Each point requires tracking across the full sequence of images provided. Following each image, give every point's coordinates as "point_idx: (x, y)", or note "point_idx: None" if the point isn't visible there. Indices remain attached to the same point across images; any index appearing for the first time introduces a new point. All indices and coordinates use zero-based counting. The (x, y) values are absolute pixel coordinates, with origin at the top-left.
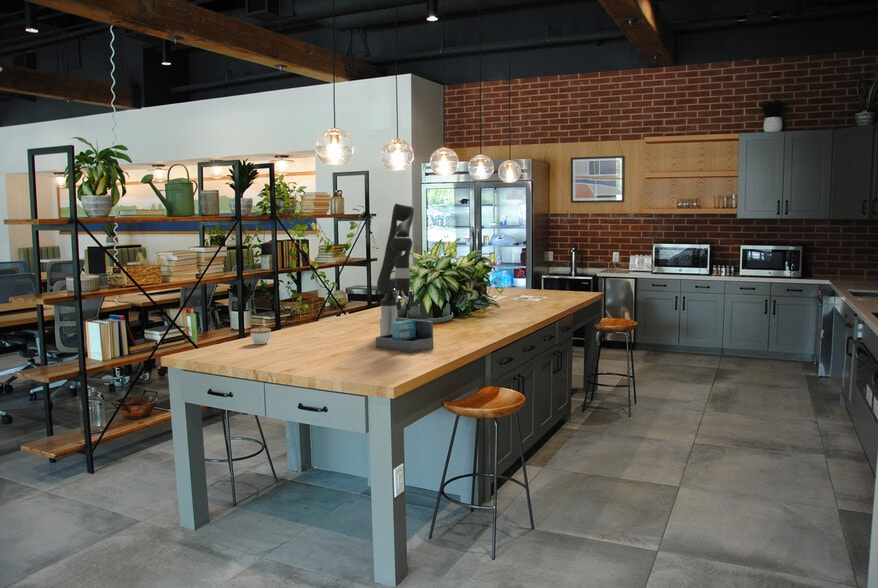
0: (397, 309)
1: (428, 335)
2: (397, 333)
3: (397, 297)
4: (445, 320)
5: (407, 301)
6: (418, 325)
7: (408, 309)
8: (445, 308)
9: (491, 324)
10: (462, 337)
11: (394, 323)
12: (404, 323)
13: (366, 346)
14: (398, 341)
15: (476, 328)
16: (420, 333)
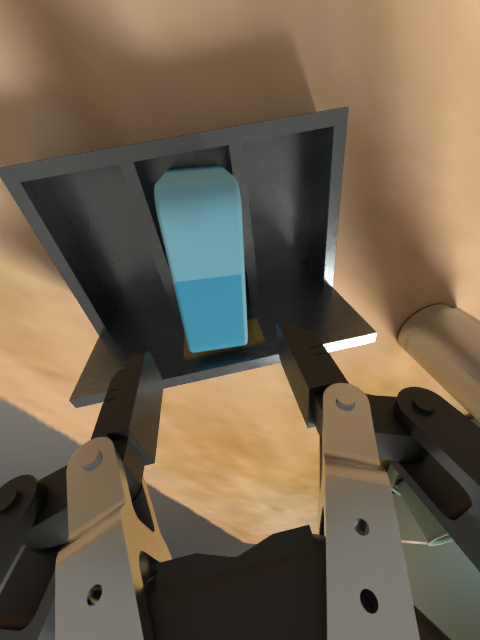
0: (288, 321)
1: (119, 336)
2: (167, 175)
3: (342, 486)
4: (388, 471)
5: (68, 480)
6: (184, 352)
7: (119, 375)
8: (411, 501)
9: (285, 502)
10: (216, 436)
11: (217, 194)
12: (169, 267)
13: (390, 98)
14: (129, 145)
15: (279, 480)
16: (172, 328)
